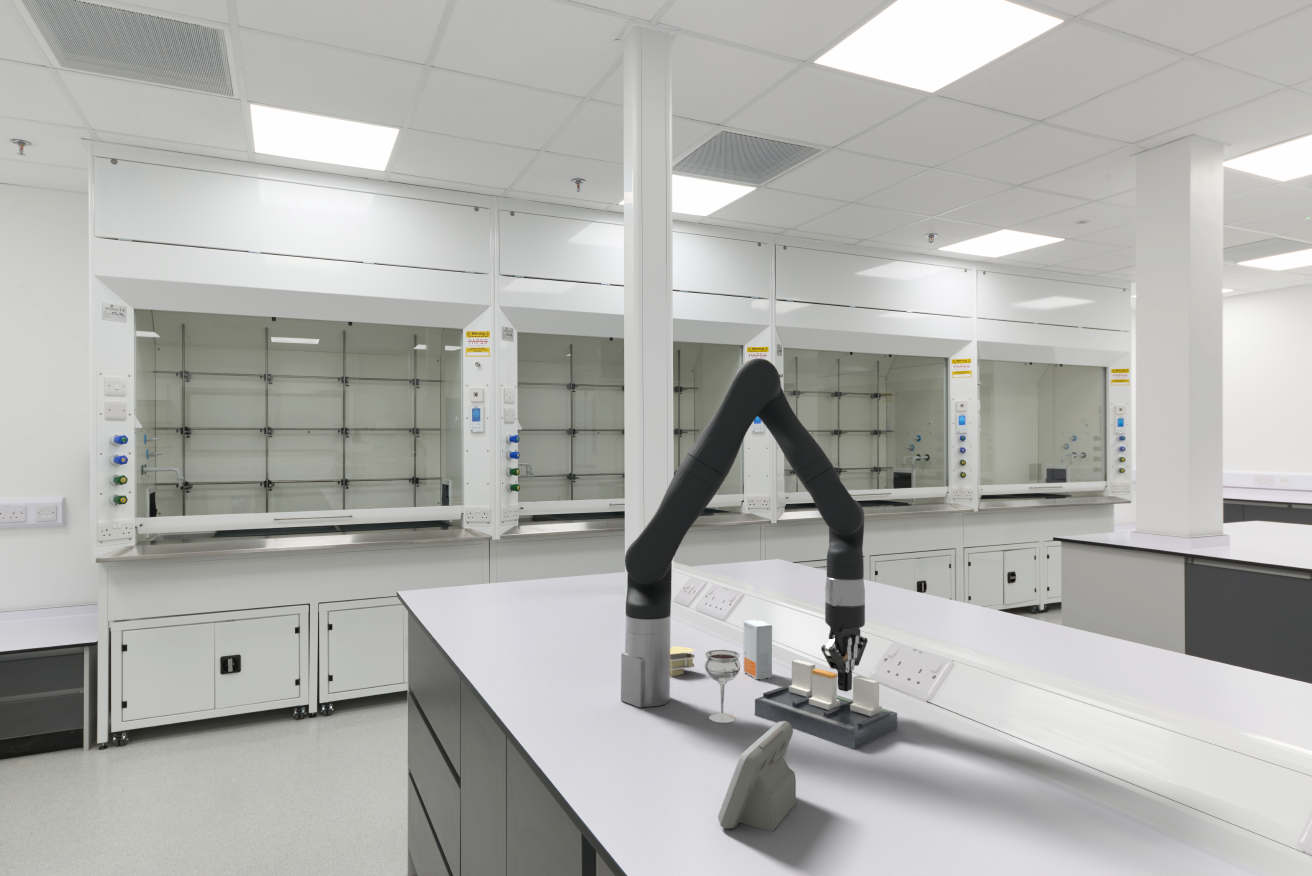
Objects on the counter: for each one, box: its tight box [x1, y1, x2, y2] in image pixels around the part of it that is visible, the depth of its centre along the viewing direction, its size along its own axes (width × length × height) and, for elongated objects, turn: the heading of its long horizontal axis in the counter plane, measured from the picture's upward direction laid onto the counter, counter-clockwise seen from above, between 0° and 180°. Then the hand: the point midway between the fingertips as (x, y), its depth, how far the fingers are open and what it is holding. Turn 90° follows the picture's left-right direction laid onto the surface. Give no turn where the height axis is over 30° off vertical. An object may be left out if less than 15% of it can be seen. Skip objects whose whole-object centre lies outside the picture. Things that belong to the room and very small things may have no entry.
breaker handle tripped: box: [809, 668, 840, 710], centre depth 136 cm, size 4×4×6 cm
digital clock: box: [717, 721, 797, 832], centre depth 102 cm, size 16×9×11 cm, turn 138°
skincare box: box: [742, 619, 773, 680], centre depth 165 cm, size 6×4×12 cm
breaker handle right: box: [850, 675, 883, 716], centre depth 133 cm, size 4×4×6 cm
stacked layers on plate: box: [670, 645, 695, 677], centre depth 166 cm, size 10×9×6 cm
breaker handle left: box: [789, 659, 816, 697], centre depth 143 cm, size 4×4×6 cm
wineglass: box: [704, 649, 741, 724], centre depth 138 cm, size 7×7×12 cm
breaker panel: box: [754, 683, 898, 750], centre depth 136 cm, size 14×22×4 cm, turn 42°
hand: (844, 689), depth 141 cm, fingers closed
